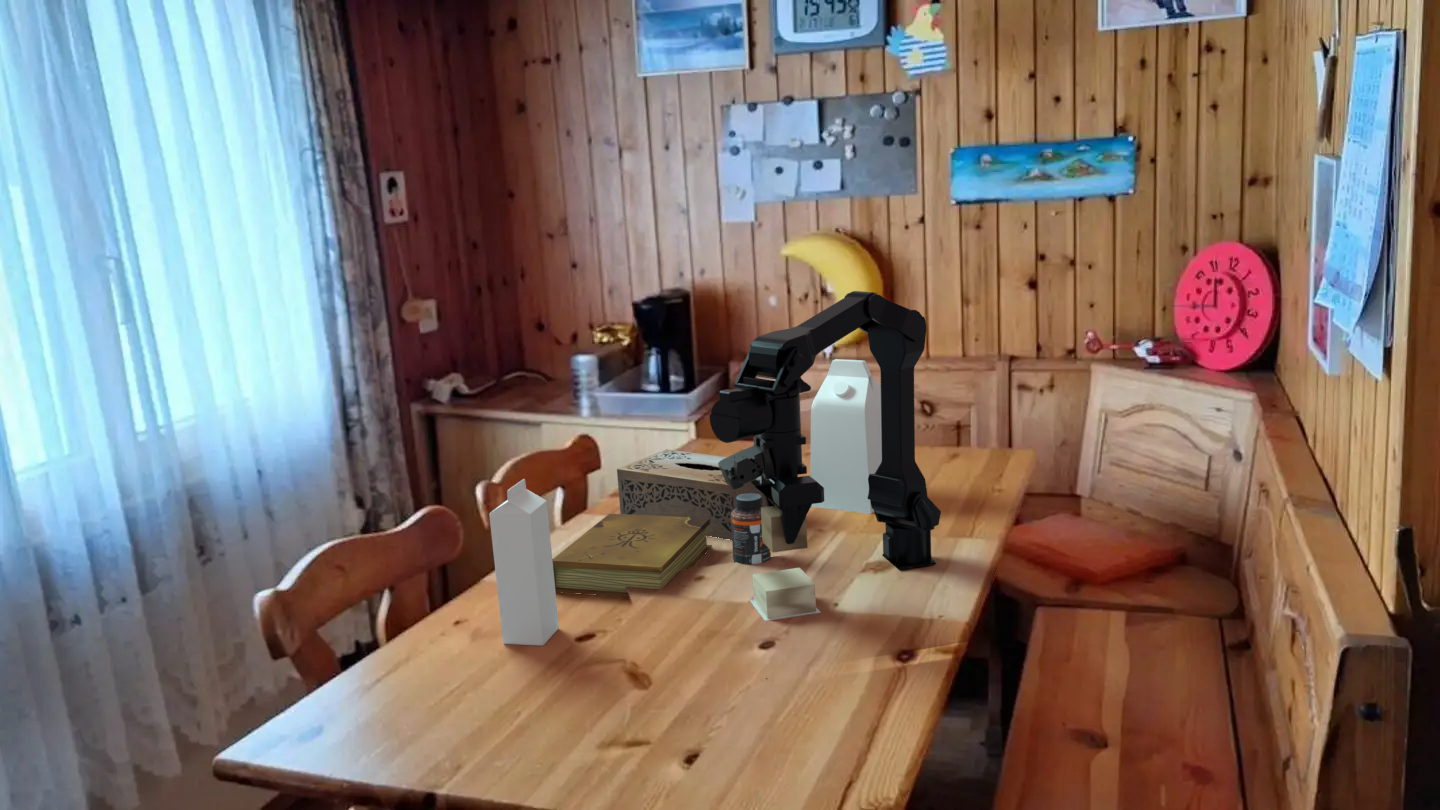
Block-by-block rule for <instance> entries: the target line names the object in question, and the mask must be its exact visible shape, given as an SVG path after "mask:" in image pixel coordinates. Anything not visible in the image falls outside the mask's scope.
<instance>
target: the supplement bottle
mask: <svg viewBox="0 0 1440 810" xmlns="http://www.w3.org/2000/svg"><path fill="white" fill-rule="evenodd" d="M736 505H737V508H736V509H734V510H733V511H732V513H731V528H732V541H731V543H732V545H731V546H732V560H733V563H734V564H735V563H737V564H741V565H758V564H763V563H766V562H768V561H770V560H771V558H772V556H771V555H772V554H771V553H772V551H771V550H770V549H769V548H768V547H767V546H766V545H765V544H764V543H763V542H762V521H761V507H763V506H762V496H761V495H759V494H753V493H748V494H741V495H739V496H737V497H736Z"/></svg>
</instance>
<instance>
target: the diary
mask: <svg viewBox="0 0 1440 810" xmlns="http://www.w3.org/2000/svg"><path fill="white" fill-rule="evenodd" d="M709 524H710V518H696V517H674V516H651V515H629V514H620V513H608V514H607V515H606V516H604V517H603V518H602V519H601V520H599V521H598V522H597V523H595V524H594V525H593V526H592V527H591V528H590V529H588V530H587V531H586V532H585V533H583V534H582V535H581V536H579V537H578V538H577V539H576V540H575V541H573V542H572V543H571V544H570V545H568V546H567V547H566V548H564V549H563V550H562V551H561V552H560V553H558V554H557V555H556V556H554V557H552V561H553V571H554V581H555V592H563V593H562V594H567V593H581V594H580V595H583V594H596V595H595V596H598V595H605V596H604V597H614V596H615V597H617V596H618V597H619V598H631V597H630V594H629V592H628V590H627V588H636V589H650V590H662V589H663V588H664V587H665V586H666V585H667V584H668V583H669V582H670V581H671V580H672V579H673V578H674V577H675V576H676V574H677V573H679V571H685V570H692V569H694V567H695V566H696V565H697V564H698V563H699V562H700V561H701V560H702V559H703V558H704V557H705V555H706V554H707V553H708V552H709V551H710V550H711V549H712V548H711V547H713V546H712V544H708V541H707V539H708V538H707V537H706V527H707V526H708V525H709ZM710 548H711V549H710ZM709 549H710V550H709ZM708 550H709V551H708ZM707 551H708V552H707ZM706 552H707V553H706ZM705 553H706V554H705ZM703 556H704V557H703ZM702 557H703V558H702ZM701 558H702V559H701ZM700 559H701V560H700ZM699 560H700V561H699ZM698 561H699V562H698ZM697 562H698V563H697ZM696 563H697V564H696ZM615 597H614V598H615ZM618 597H617V598H618Z"/></svg>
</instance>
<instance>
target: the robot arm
mask: <svg viewBox="0 0 1440 810" xmlns="http://www.w3.org/2000/svg"><path fill="white" fill-rule="evenodd" d="M858 329H859V330H861V331H862V332H864V333H865V334H867V337H868V338H867V340H868V345H869V351H870V353H871V354H872V356H873V358H874V359H875V362H876V363H877V365H878V367H879V370H880V371H879V372H880V377H879V378H880V386H881V441H882V461H881V464H880V465H879V467H878V469H877V470H876V472H875V473H873V474H869V477H868V483H869V494H868V499H869V500H870V502H871V507H872V509H874V512H873V513H874V515H875V518H876V521H877V523H883V524H884V523H885V532H883V533H882V551H883V552H882V557H884V559H886V560H887V561H888V562H889V563H890V564H891V565H893V567H895V568H896V569H897V570H899V571H900V570H907V569H914V568H920V567H927V566H934V565H936V563H937V562H936V561H937V560H936V559H934V558H933V557H932V535H931V534H932V530H935V527H936V526H939V524H940V519H941V515H942V511H941V510H940V508H939V507H938V506H937V505H936V504H935V503H934V502H933V501H932V500H931V499H930V498H929V497H928V490H927V489H928V488H927V482H926V478H925V476H924V474H923V473H922V471H921V469H920V467H919V466H918V464H917V462H916V446H915V444H916V443H915V441H916V437H915V436H916V435H915V434H916V433H915V431H916V430H915V428H916V427H915V420H916V419H915V367H916V365H917V363H918V362H919V360H920V358H921V356H922V354H923V353H924V351H925V345H926V339H927V338H926V337H927V322H926V318H925V316H923V315H922V314H921V313H920V311H919V310H917V309H909V308H907V307H906V306H902V305H900V304H898V303H895V302H893V301H890V300H889V299H886V297H883V296H882V295H880V294H878V293H877V292H873V291H859V290H858V291H857V290H854V291H853V290H852V291H851V292H849V293H846V295H844V297H843V298H842V299H840V300H838V301H837V302H835V303H833V304H832V305H830V306H828V307H826V308H825V309H824V310H821V311H820V312H819V313H817V314H815V315H814V316H811V317H810V318H809V319H806V320H805V321H804V322H801V323H800V324H798V325H796V326H794V327H791V328H786V329H785V328H784V329H778V330H773V331H770V332H767V333H764V334H762V335H759V336H757V337H756V338H754V339H753V340H752V342H751V343H750V348H749V351H748V353H747V355H746V357H745V359H744V362H743V363H742V365H741V368H740V371H739V372H738V375H737V377H736V379H735V381H734V383H733V388H734V389H722V390H720V391H719V393H718V394H719V400H717V401H716V402H715V403H714V404H713V405H712V408H711V411H710V414H709V424H710V427H711V430H712V432H713V434H714V435H715V437H716V438H717V439H718V440H719V441H721V442H722V443H725V444H728V443H729V444H730V443H733V442H737V441H741V440H744V439H748V438H752V437H753V445H752V446H750V447H748V448H744V449H741V450H738V451H737V452H736V453H732V454H731V455H729V456H726V457H727V458H725V459H723V460H721V461H720V462H719V463H718V465H719V467H720V469H721V472H722V474H723V476H724V479H725V481H726V483H727V484H728V485H729V486H730V487H731V488H732V489H738V488H741V487H743V485H744V484H746V483H748V482H750V481H751V484H752V485H754V486H755V487H756V488H757V489H758V490H759V491H760V492H761V493H763V495H764V498H765V501H766V504H767V507H768V506H776V507H777V508H779V512H780V517H781V522H782V527H783V532H784V537H785V541H786V543H787V544H793V543H794V542H795V540H796V538H797V535H798V533H799V531H800V529H801V526H802V524H803V522H804V520H805V518H806V519H807V516H808V513H809V511H810V510H811V508H812V507H811V506H812V504H816V503H822V502H824V487H823V486H821V485H820V484H819V483H818V482H817V481H815V480H814V479H813V478H812V477H810V475H807V473H808V468H807V465H806V464H804V463H803V451H802V450H803V449H802V448H803V445H806V444H807V439H806V438H807V437H806V436H805V435H803V433H802V422H801V397H800V396H801V394H803V393H807V392H810V391H811V389H812V386H811V385H810V384H808V382H805V381H804V380H803V379H802V376H803V375H804V374H806V372H808V371H809V370H810V369H811V368H812V367H813V365H814V363H815V360H816V357H817V356H818V355H819V354H820V353H821V352H823V351H824V350H826V349H827V348H829V347H830V346H832V345H834V344H835V343H837V342H839V341H840V340H842V339H843V338H845V337H847V336H848V335H849V334H852V333H853V332H855V331H856V330H858ZM799 475H800V476H799ZM801 475H802V476H801ZM803 475H804V476H803ZM754 479H756V480H754ZM752 480H753V481H752Z"/></svg>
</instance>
